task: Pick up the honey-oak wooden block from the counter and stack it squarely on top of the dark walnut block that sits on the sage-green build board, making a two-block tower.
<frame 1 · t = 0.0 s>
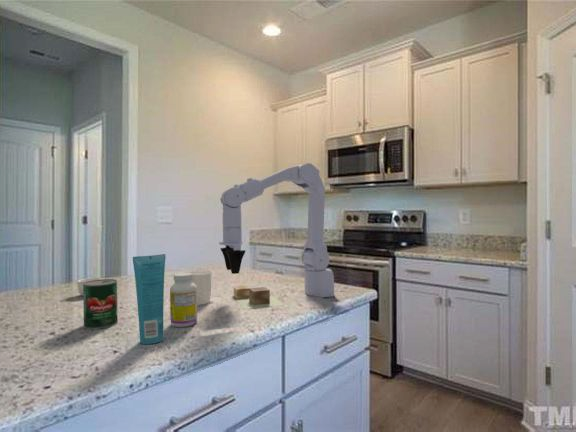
hand: (232, 271, 115), 10 cm above the worktop, tool pointing down, fingers open, 7 cm apart
tube: (151, 341, 83), on the worktop
supplement bottle: (184, 324, 95), on the worktop
build board: (259, 305, 113), on the worktop
teacup: (92, 295, 131), on the worktop
canned tomato: (101, 325, 96), on the worktop
walnut block: (259, 302, 113), point 1 cm above the worktop, touching build board
oak block: (242, 299, 121), on the worktop
white cup: (199, 305, 114), on the worktop
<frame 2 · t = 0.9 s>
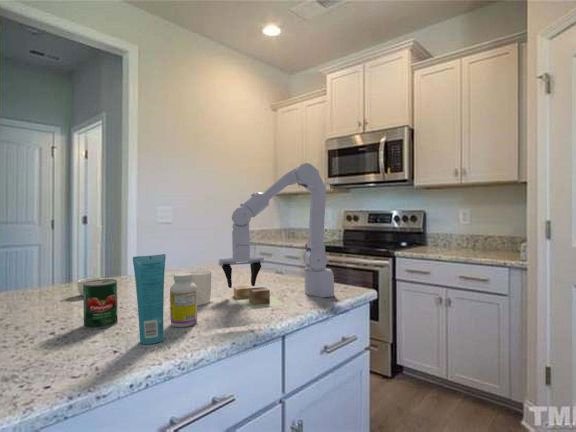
hand: (241, 286, 121), 4 cm above the worktop, tool pointing down, fingers open, 7 cm apart
nothing on the worktop moved.
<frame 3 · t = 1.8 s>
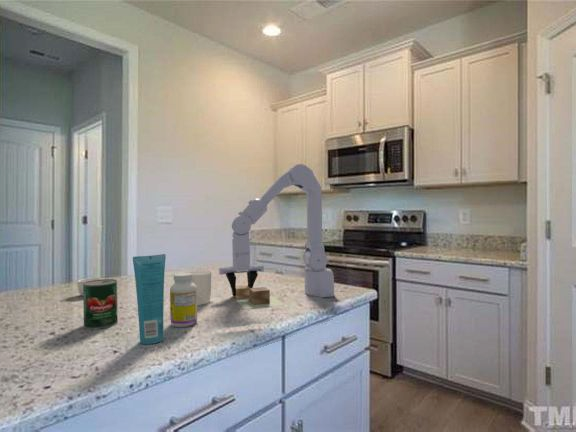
hand: (241, 294, 121), 1 cm above the worktop, tool pointing down, fingers closed on oak block, 4 cm apart
oak block: (242, 299, 121), on the worktop, touching gripper
everything else where it was.
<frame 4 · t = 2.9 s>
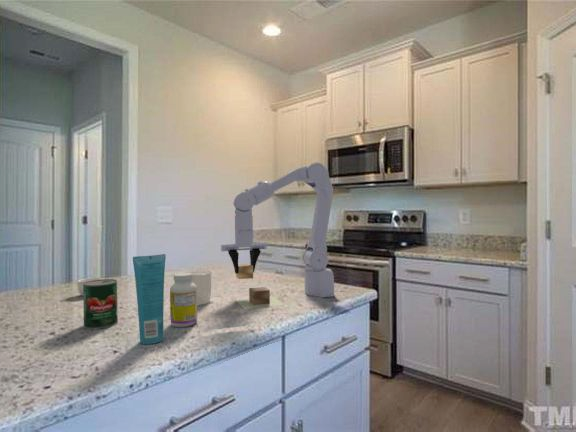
hand: (244, 272, 120), 9 cm above the worktop, tool pointing down, fingers closed on oak block, 4 cm apart
oak block: (244, 277, 120), point 7 cm above the worktop, touching gripper
everything else where it was.
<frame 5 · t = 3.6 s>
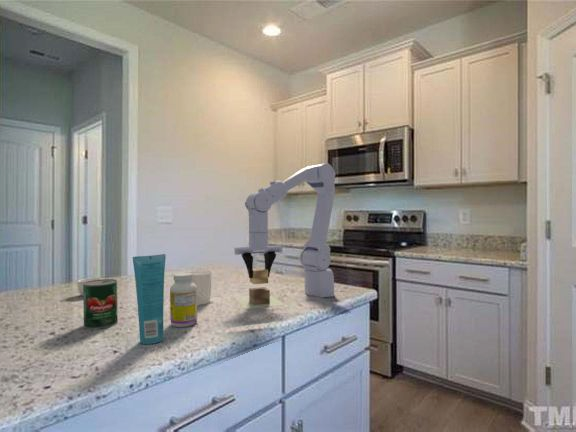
hand: (259, 277, 113), 9 cm above the worktop, tool pointing down, fingers closed on oak block, 4 cm apart
oak block: (258, 282, 113), point 7 cm above the worktop, touching gripper
everything else where it was.
when the fingers open (8 cm above the worktop, at t = 4.2 s): oak block drops 1 cm, resting on walnut block.
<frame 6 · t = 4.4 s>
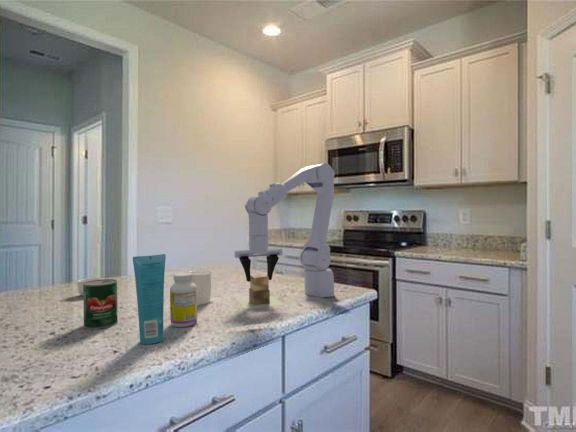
hand: (259, 280, 113), 8 cm above the worktop, tool pointing down, fingers open, 6 cm apart
walnut block: (259, 302, 113), point 1 cm above the worktop, touching build board, oak block
oak block: (259, 289, 113), point 5 cm above the worktop, touching walnut block
everything else where it was.
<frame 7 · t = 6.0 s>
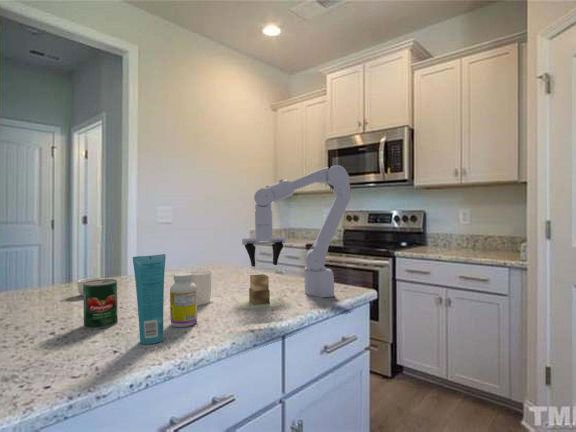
hand: (264, 265, 125), 10 cm above the worktop, tool pointing down, fingers open, 7 cm apart
nothing on the worktop moved.
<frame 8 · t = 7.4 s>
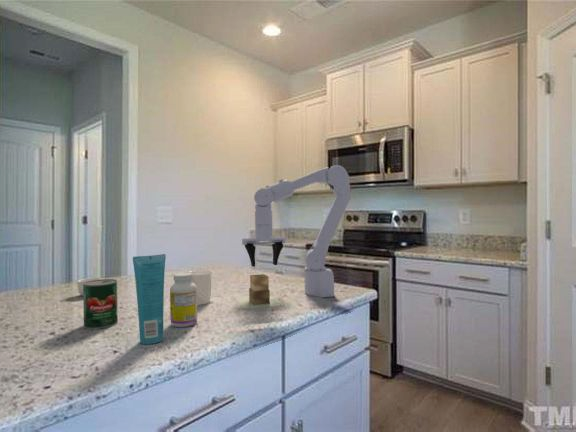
hand: (264, 265, 125), 10 cm above the worktop, tool pointing down, fingers open, 7 cm apart
nothing on the worktop moved.
at the end: oak block 0.1 cm off-centre on the walnut block, point 4.0 cm above the walnut block's base; oak block tilted 0°; walnut block 0.0 cm off-centre on the build board, point 1.0 cm above the build board's base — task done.
